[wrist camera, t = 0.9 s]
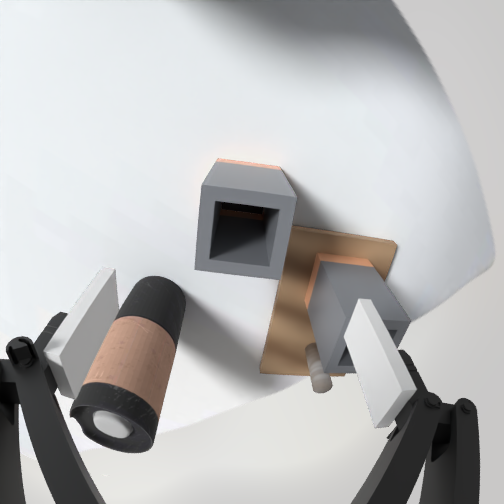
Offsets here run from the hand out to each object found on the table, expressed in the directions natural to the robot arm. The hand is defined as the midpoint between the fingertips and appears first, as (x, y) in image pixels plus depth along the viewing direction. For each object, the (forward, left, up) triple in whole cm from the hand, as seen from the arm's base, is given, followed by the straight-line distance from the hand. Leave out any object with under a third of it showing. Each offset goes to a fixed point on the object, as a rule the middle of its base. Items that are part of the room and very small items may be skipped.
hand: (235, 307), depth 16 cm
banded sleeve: (-1, 0, -19) cm, 19 cm away
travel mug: (+14, -9, -19) cm, 25 cm away
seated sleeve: (+7, +12, -18) cm, 23 cm away
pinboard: (+13, +12, -19) cm, 26 cm away
